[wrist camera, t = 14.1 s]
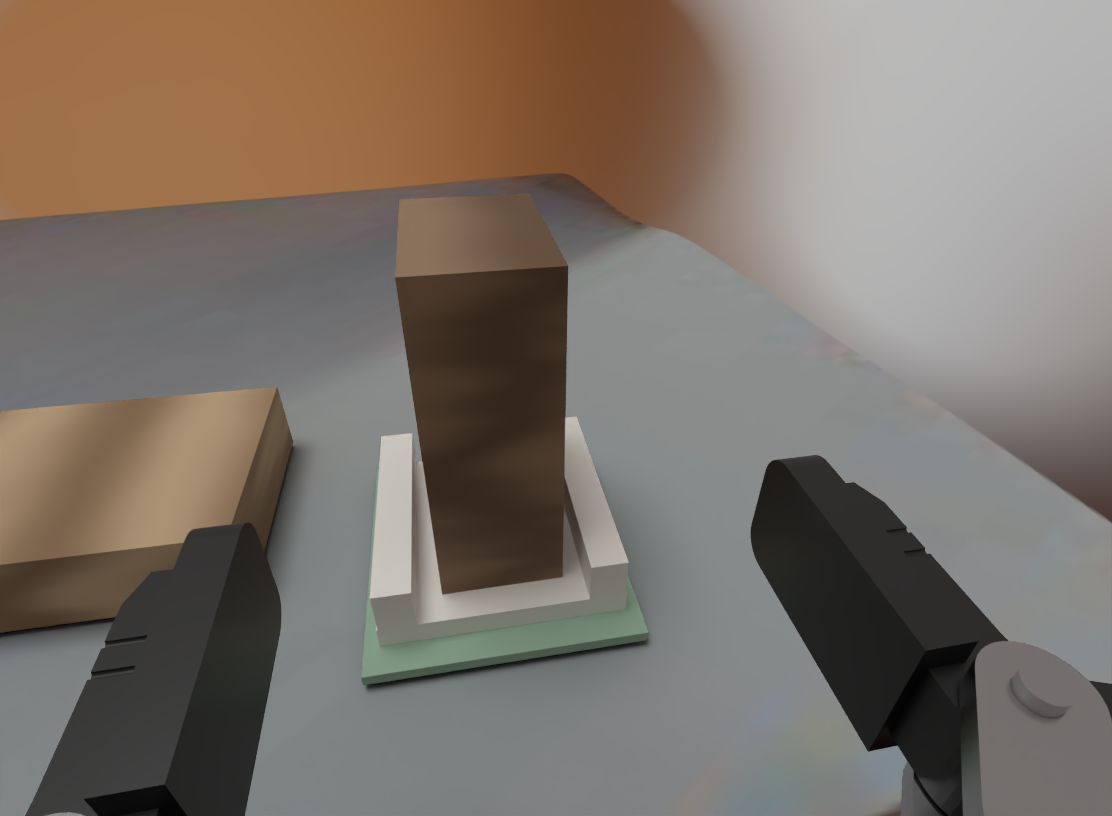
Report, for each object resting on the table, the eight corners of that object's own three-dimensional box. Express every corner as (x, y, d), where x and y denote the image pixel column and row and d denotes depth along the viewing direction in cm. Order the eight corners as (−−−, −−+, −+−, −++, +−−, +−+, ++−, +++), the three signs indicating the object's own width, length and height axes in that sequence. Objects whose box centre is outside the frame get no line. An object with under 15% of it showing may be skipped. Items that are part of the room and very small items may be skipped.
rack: (379, 646, 20) (367, 598, 19) (388, 480, 26) (380, 436, 25) (625, 609, 21) (630, 562, 20) (576, 459, 28) (577, 416, 26)
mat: (363, 685, 19) (361, 677, 19) (378, 473, 27) (377, 466, 27) (647, 639, 21) (648, 632, 20) (582, 451, 29) (582, 444, 28)
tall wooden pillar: (442, 594, 21) (394, 277, 14) (436, 475, 25) (399, 199, 19) (562, 577, 21) (568, 265, 15) (534, 464, 26) (529, 193, 20)
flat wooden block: (-147, 652, 20) (-212, 590, 18) (3, 470, 27) (-34, 414, 26) (252, 598, 22) (226, 537, 20) (293, 441, 29) (277, 387, 27)
